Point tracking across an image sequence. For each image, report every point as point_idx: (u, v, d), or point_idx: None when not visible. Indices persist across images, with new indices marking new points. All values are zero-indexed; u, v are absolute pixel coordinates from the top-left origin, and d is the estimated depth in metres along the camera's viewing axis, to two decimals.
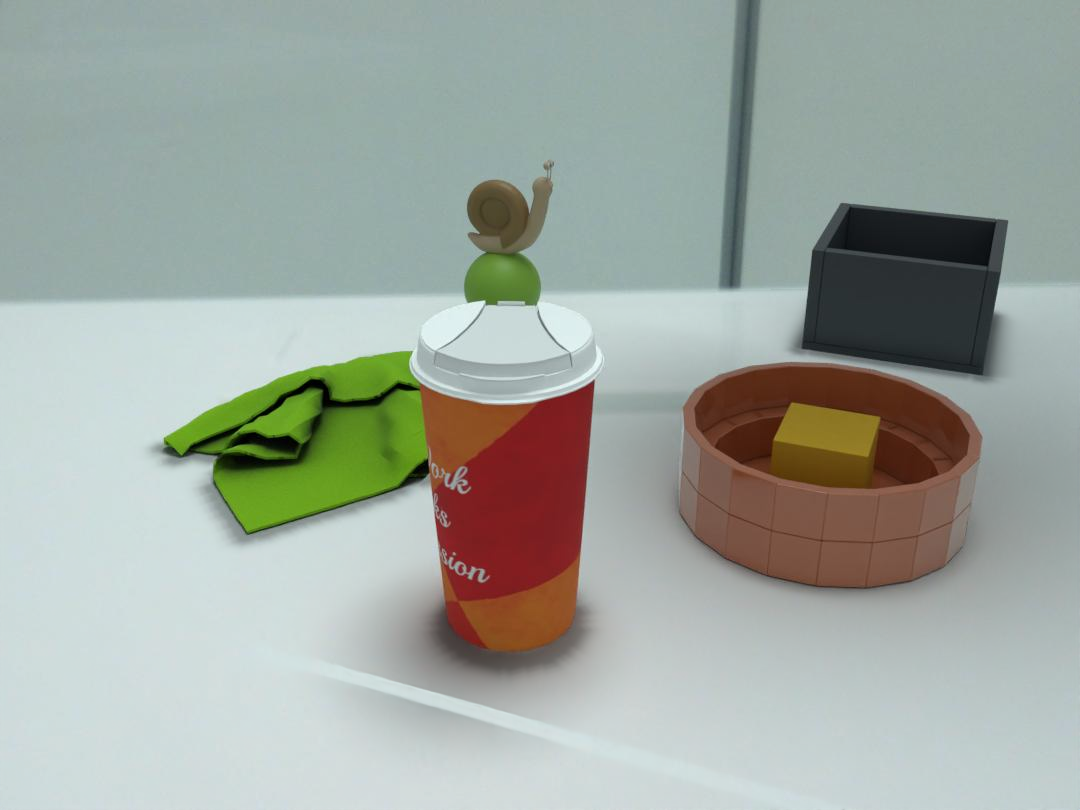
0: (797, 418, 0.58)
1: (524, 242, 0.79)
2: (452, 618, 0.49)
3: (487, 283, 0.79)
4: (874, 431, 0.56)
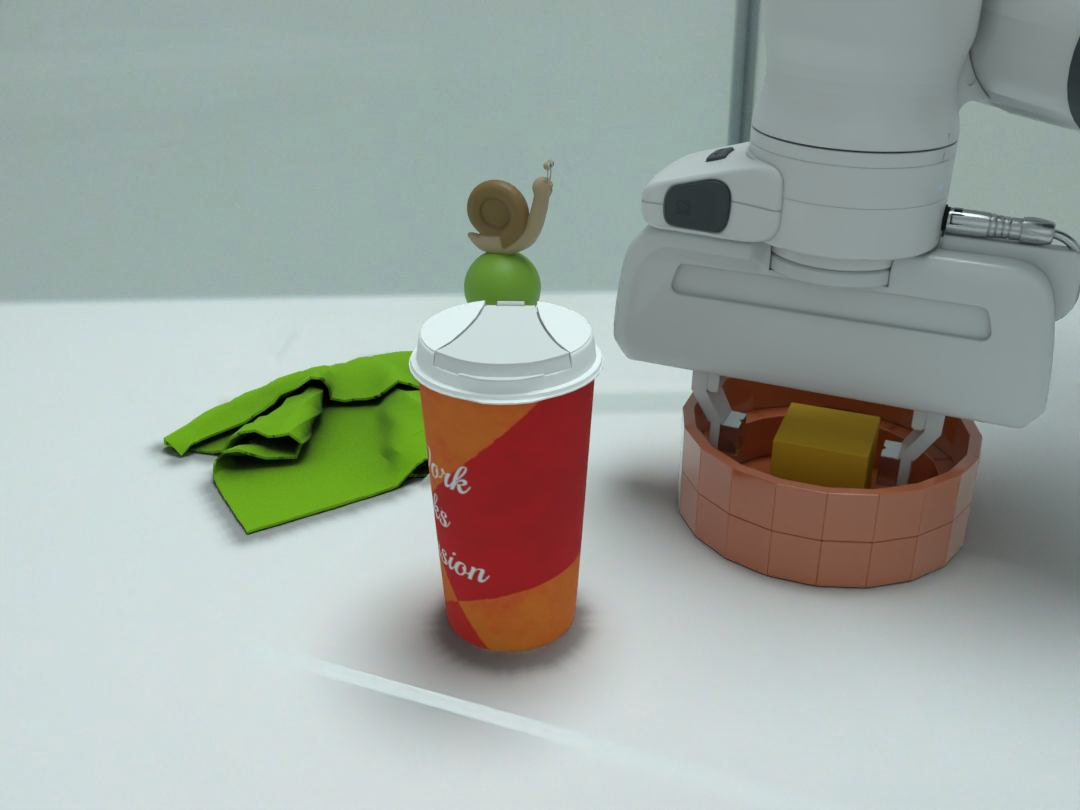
0: (797, 418, 0.58)
1: (524, 242, 0.79)
2: (452, 618, 0.49)
3: (487, 283, 0.79)
4: (874, 431, 0.56)
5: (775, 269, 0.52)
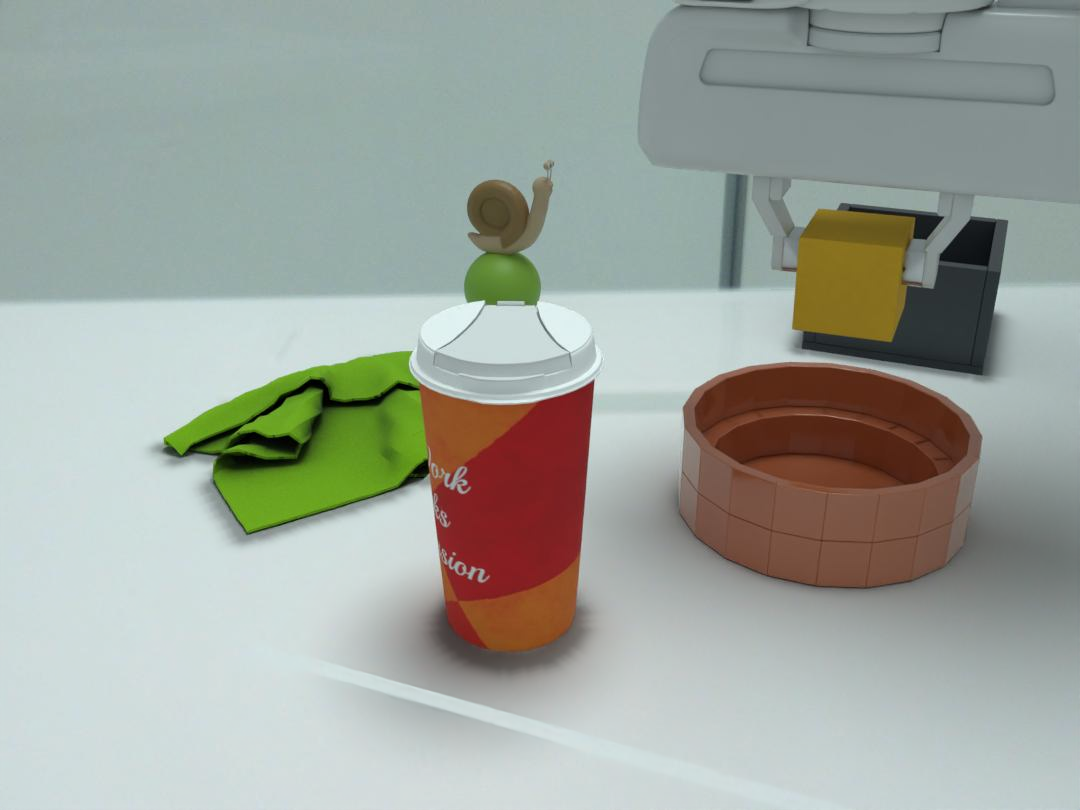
0: (825, 220, 0.53)
1: (524, 242, 0.79)
2: (452, 618, 0.49)
3: (487, 283, 0.79)
4: (909, 228, 0.52)
5: (814, 43, 0.48)
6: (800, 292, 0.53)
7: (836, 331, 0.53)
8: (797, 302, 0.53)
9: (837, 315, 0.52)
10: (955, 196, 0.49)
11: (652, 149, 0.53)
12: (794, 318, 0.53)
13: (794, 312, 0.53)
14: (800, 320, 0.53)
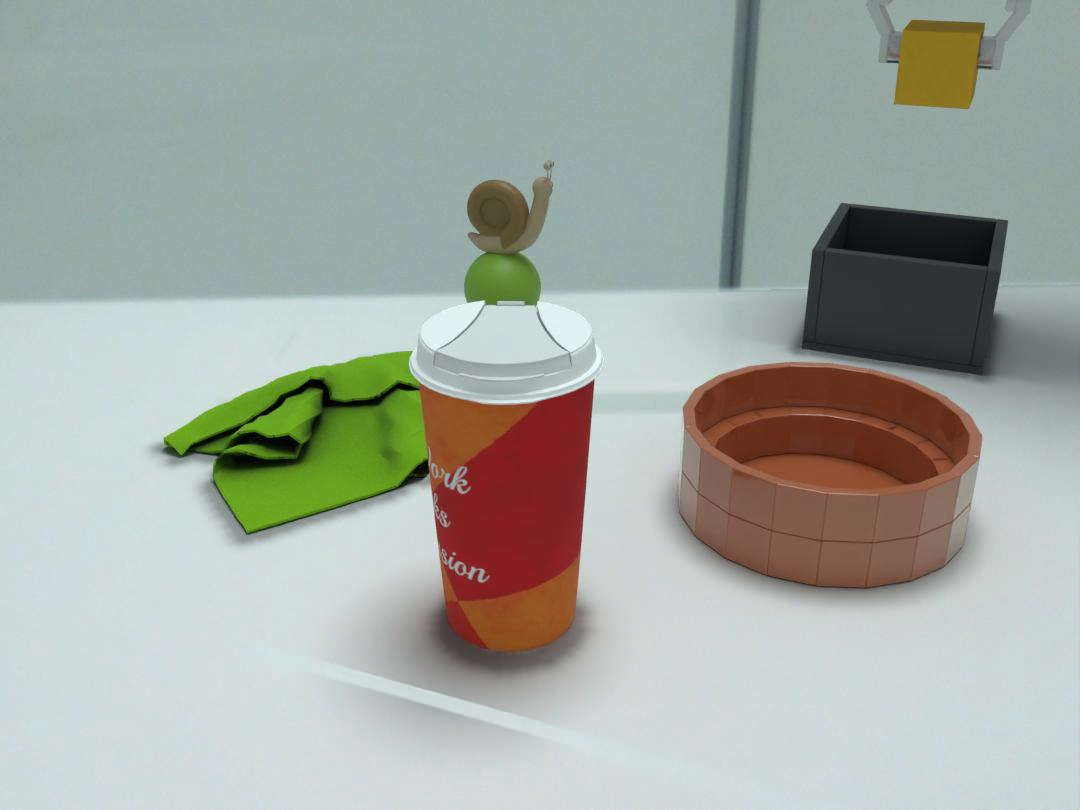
0: (918, 24, 0.72)
1: (524, 242, 0.79)
2: (452, 618, 0.49)
3: (487, 283, 0.79)
4: (982, 26, 0.71)
5: None
6: (901, 73, 0.72)
7: (927, 103, 0.72)
8: (899, 82, 0.72)
9: (928, 90, 0.71)
10: None
11: None
12: (896, 95, 0.72)
13: (896, 90, 0.72)
14: (900, 96, 0.72)
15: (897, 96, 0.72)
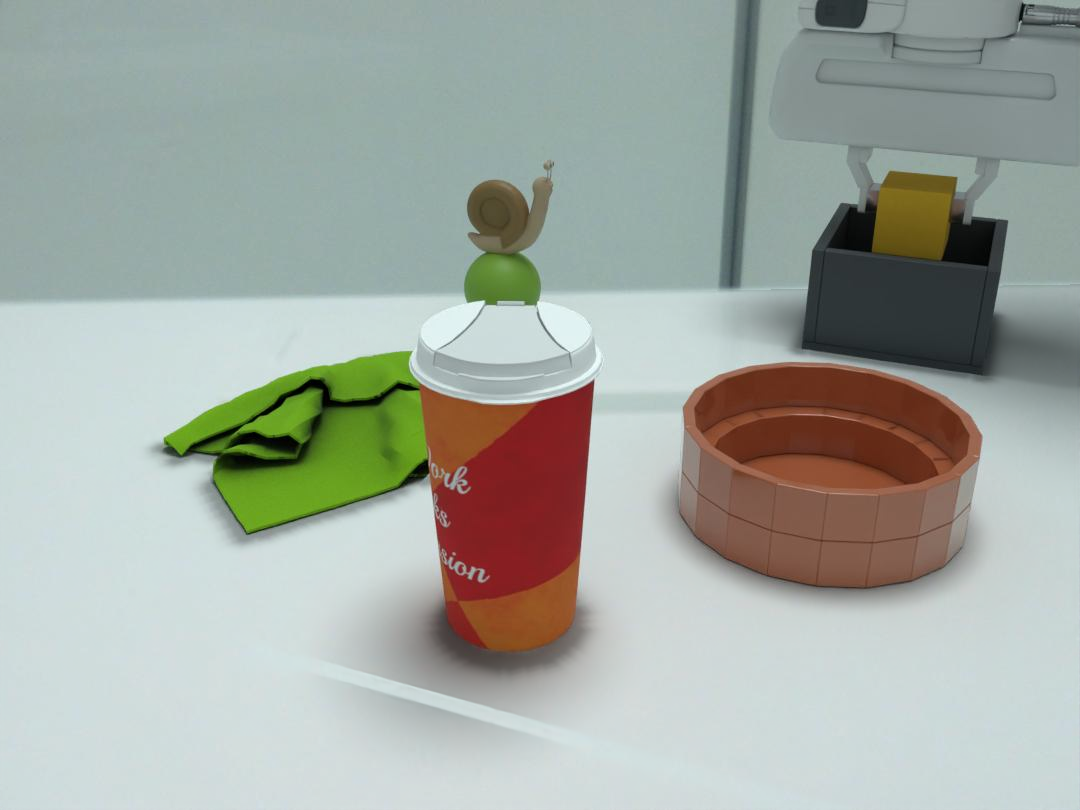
0: (895, 178, 0.78)
1: (524, 242, 0.79)
2: (452, 618, 0.49)
3: (487, 283, 0.79)
4: (954, 183, 0.76)
5: (896, 56, 0.72)
6: (879, 226, 0.77)
7: (902, 253, 0.77)
8: (876, 233, 0.77)
9: (904, 241, 0.76)
10: (987, 160, 0.73)
11: (779, 126, 0.77)
12: (873, 244, 0.77)
13: (873, 240, 0.77)
14: (877, 246, 0.77)
15: (875, 245, 0.77)
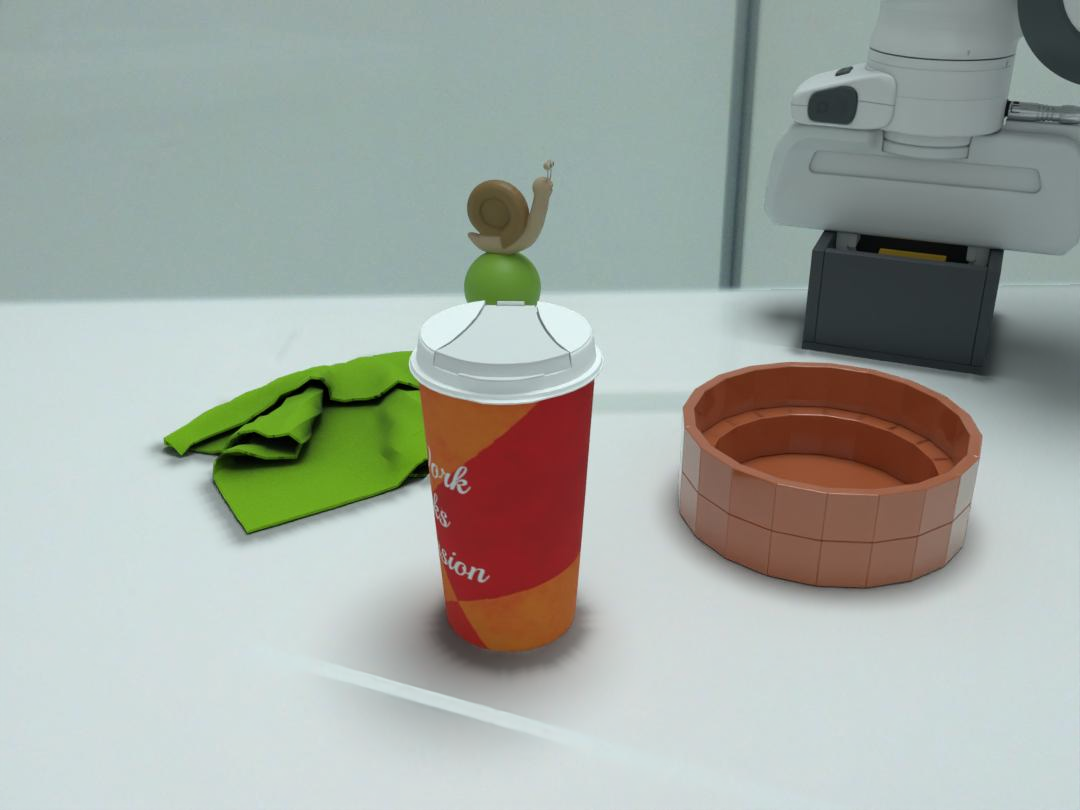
0: None
1: (524, 242, 0.79)
2: (452, 618, 0.49)
3: (487, 283, 0.79)
4: None
5: (886, 150, 0.74)
6: None
7: None
8: None
9: None
10: (978, 248, 0.76)
11: (774, 213, 0.79)
12: None
13: None
14: None
15: None
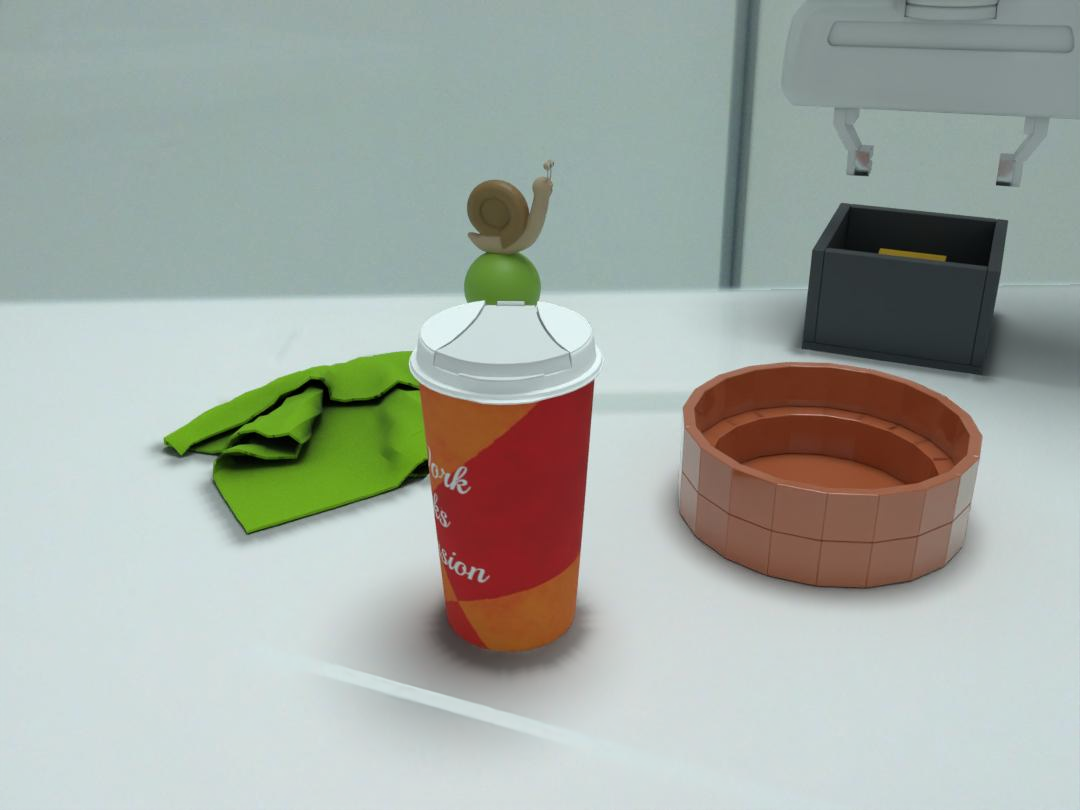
0: None
1: (524, 242, 0.79)
2: (452, 618, 0.49)
3: (487, 283, 0.79)
4: None
5: (909, 14, 0.71)
6: None
7: None
8: None
9: None
10: (1036, 120, 0.71)
11: (792, 92, 0.75)
12: None
13: None
14: None
15: None
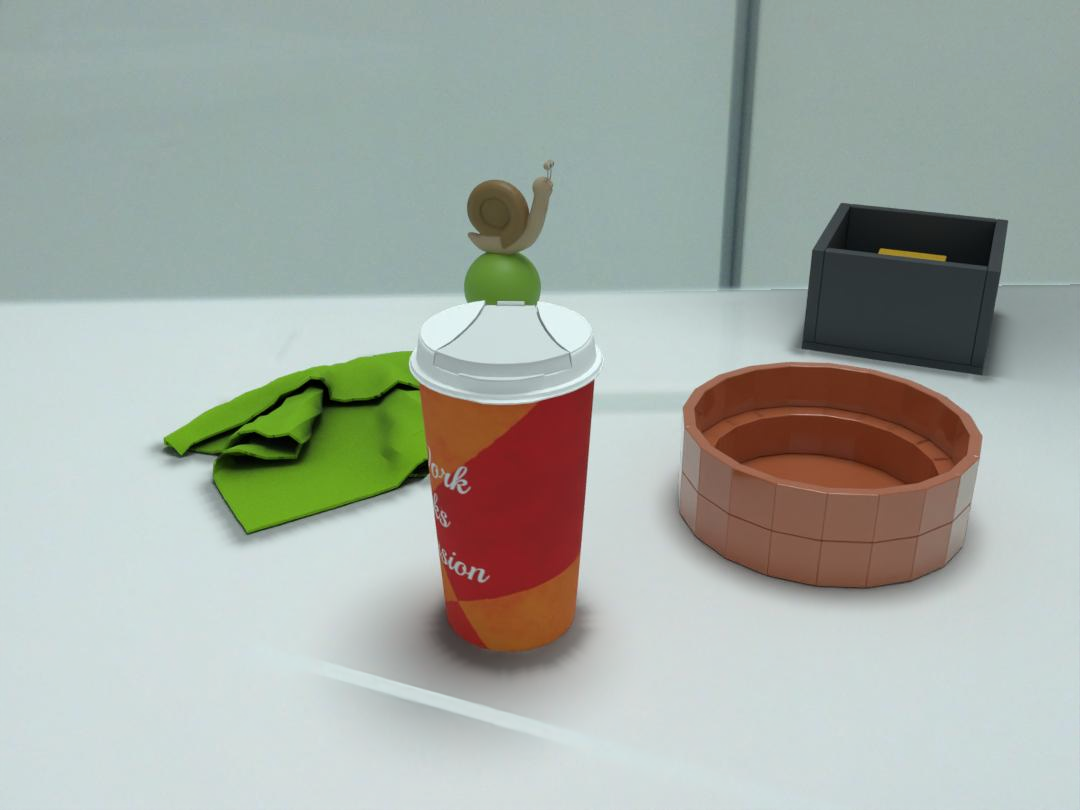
0: None
1: (524, 242, 0.79)
2: (452, 618, 0.49)
3: (487, 283, 0.79)
4: None
5: None
6: None
7: None
8: None
9: None
10: None
11: None
12: None
13: None
14: None
15: None
